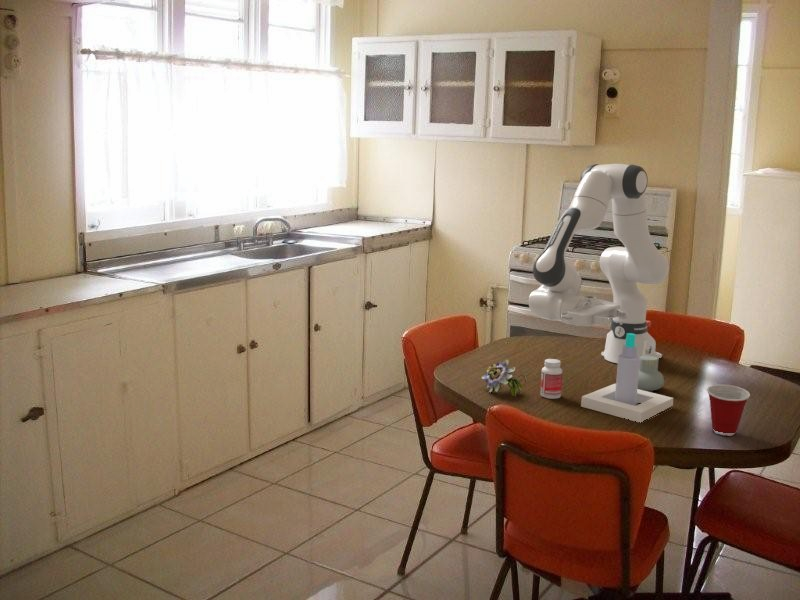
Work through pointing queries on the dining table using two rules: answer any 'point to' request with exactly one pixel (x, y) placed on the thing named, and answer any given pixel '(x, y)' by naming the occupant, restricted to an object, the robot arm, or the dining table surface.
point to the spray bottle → (627, 372)
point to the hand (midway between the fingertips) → (618, 318)
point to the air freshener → (649, 374)
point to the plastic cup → (726, 406)
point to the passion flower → (501, 378)
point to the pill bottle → (551, 379)
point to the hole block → (607, 404)
